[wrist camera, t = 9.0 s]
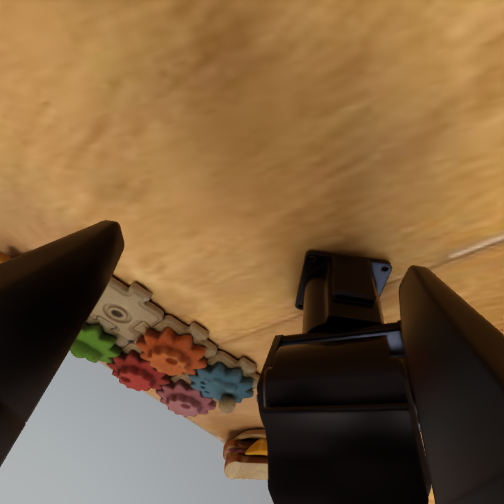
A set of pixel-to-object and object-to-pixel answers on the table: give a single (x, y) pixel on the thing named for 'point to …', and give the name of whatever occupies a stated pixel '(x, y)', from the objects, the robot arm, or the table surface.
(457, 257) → the table surface
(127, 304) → the gear puzzle
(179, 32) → the table surface
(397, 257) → the table surface
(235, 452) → the toy sandwich meal
